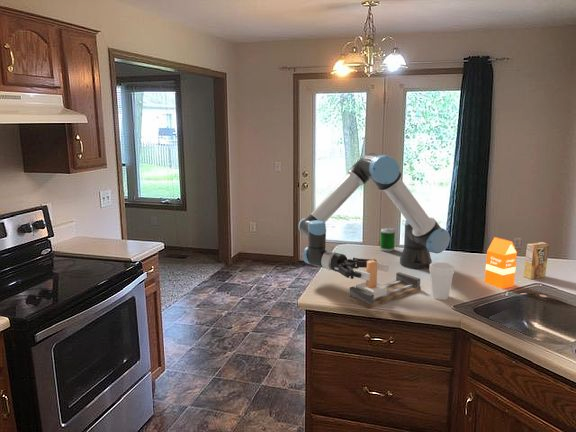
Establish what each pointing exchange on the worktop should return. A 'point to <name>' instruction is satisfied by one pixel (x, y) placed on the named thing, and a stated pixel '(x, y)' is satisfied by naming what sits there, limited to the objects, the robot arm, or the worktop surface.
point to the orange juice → (500, 263)
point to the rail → (394, 290)
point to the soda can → (387, 239)
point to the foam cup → (441, 279)
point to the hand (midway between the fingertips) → (379, 272)
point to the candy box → (536, 260)
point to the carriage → (372, 281)
